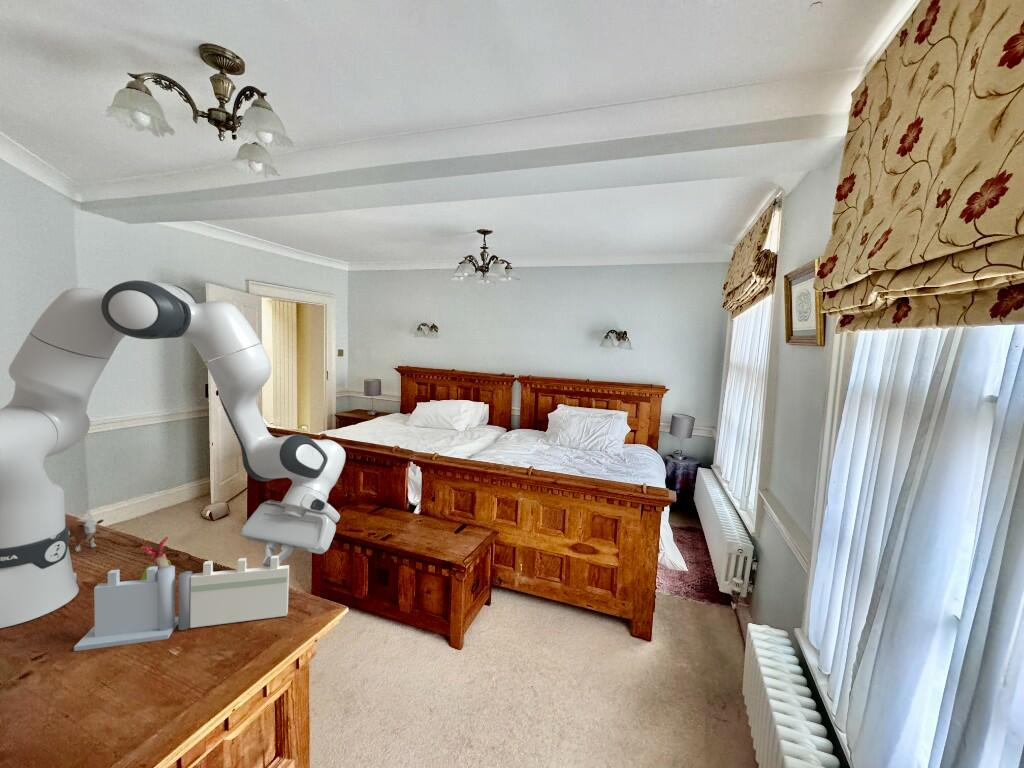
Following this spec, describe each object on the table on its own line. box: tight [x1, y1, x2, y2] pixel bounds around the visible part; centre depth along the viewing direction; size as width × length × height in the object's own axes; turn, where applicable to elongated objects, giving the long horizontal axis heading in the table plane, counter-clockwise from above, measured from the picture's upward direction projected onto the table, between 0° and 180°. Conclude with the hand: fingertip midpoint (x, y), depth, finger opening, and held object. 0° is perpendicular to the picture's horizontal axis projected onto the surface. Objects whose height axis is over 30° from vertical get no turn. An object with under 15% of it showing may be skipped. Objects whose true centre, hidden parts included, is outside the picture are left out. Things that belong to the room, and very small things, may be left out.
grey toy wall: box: [73, 564, 178, 652], centre depth 72 cm, size 13×5×12 cm, turn 109°
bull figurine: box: [65, 517, 104, 553], centre depth 98 cm, size 4×13×8 cm, turn 78°
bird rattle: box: [139, 536, 174, 580], centre depth 86 cm, size 6×11×9 cm
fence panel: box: [177, 554, 290, 631], centre depth 78 cm, size 18×2×12 cm, turn 109°
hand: (269, 566), depth 86 cm, fingers closed
